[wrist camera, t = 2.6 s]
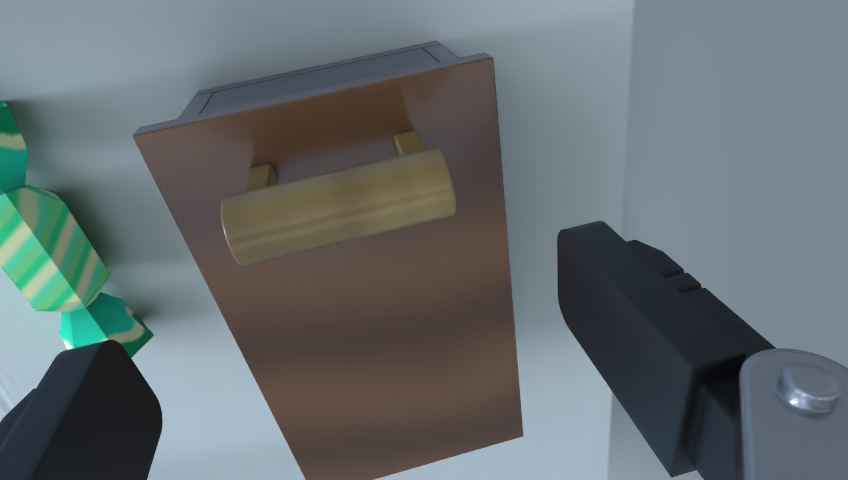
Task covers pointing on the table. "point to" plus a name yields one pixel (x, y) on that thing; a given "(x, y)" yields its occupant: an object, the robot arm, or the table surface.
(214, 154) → the lid
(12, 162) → the candy
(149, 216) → the table surface
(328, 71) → the chest
